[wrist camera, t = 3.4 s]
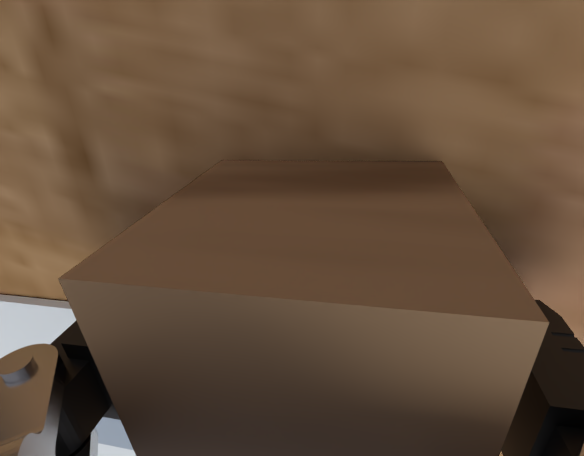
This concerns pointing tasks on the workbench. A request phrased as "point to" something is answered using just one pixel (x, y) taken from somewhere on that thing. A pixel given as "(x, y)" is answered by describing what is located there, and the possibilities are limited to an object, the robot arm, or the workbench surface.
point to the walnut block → (310, 316)
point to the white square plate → (45, 329)
